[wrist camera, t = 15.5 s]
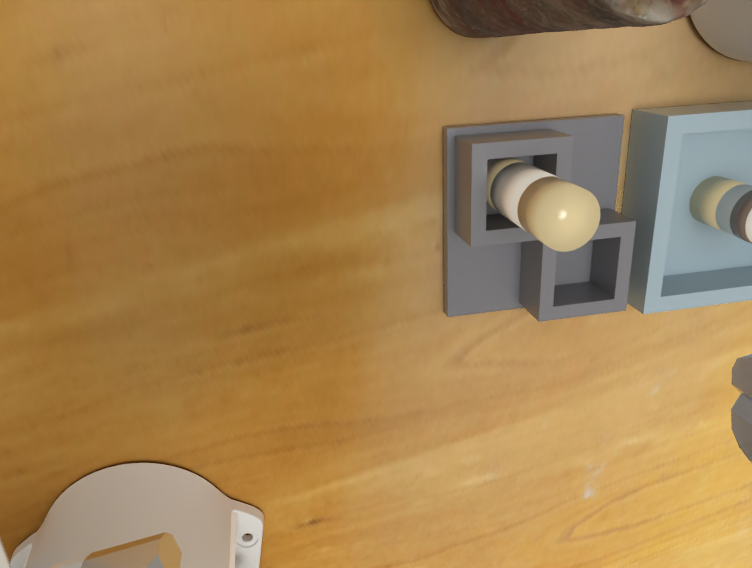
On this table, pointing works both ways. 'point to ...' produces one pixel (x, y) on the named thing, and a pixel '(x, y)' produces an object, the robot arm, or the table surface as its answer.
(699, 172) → the parts tray
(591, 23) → the candle
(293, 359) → the table surface
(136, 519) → the robot arm
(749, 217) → the fuse
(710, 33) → the cylinder vase
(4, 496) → the table surface
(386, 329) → the table surface
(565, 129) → the fuse holder
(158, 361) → the table surface
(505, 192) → the cylinder
